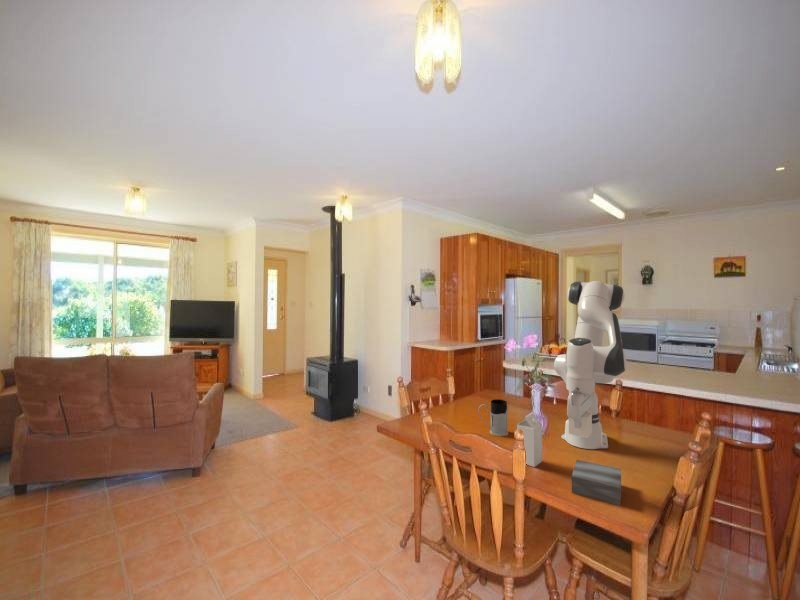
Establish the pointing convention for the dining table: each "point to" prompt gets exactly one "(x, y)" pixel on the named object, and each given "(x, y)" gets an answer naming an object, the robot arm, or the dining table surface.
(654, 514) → the dining table surface
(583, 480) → the slate box
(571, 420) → the ivory block
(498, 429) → the grey mug
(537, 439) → the milk carton
